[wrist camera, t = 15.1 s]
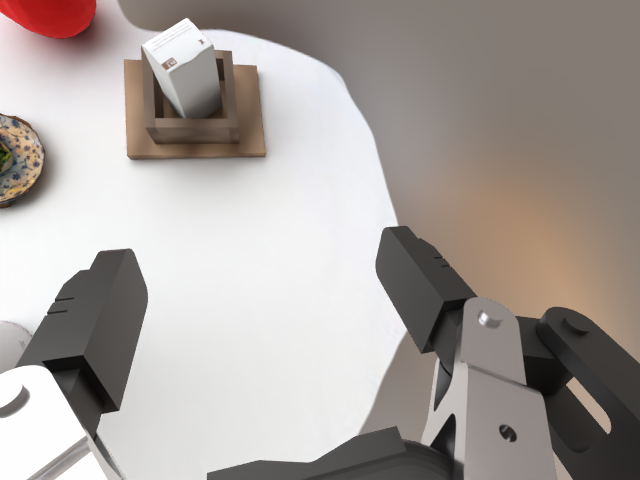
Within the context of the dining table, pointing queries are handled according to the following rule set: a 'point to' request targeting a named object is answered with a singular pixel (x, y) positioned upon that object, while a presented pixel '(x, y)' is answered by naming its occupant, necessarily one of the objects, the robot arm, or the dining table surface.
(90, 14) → the tomato
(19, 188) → the plate of food
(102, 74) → the dining table surface
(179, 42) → the skincare box
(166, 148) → the sleeve stand
